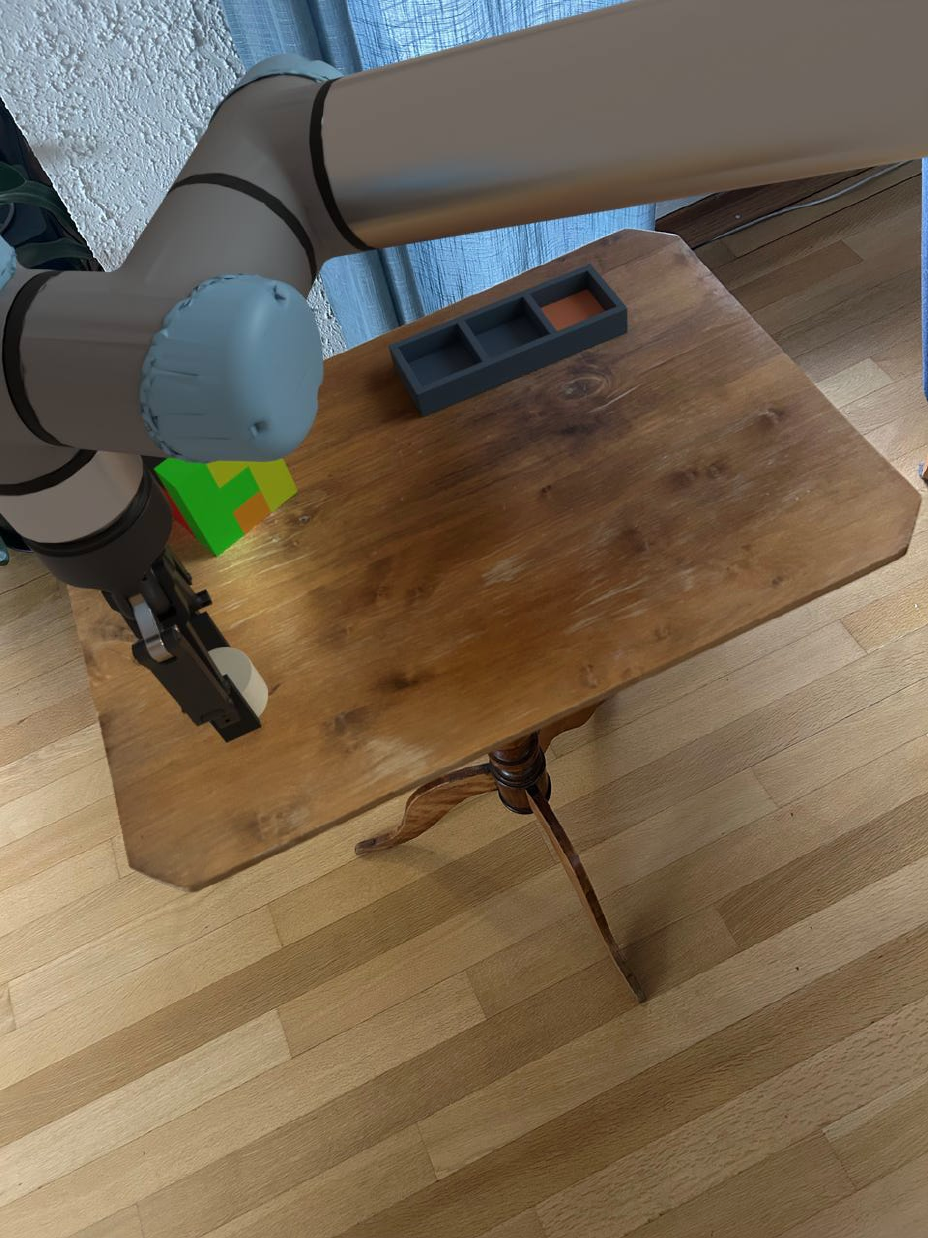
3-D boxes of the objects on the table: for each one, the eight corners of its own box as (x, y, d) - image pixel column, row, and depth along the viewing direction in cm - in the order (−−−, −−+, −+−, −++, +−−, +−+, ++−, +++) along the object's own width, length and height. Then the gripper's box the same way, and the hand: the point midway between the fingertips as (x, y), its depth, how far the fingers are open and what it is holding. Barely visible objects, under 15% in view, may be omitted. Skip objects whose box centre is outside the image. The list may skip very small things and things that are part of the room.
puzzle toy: (237, 443, 100) (200, 369, 92) (297, 491, 95) (265, 417, 87) (158, 504, 97) (113, 433, 89) (216, 556, 92) (175, 487, 84)
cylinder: (276, 713, 71) (260, 690, 68) (211, 742, 71) (192, 720, 68) (258, 660, 74) (241, 636, 71) (195, 688, 73) (176, 664, 70)
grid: (627, 332, 100) (627, 307, 98) (422, 417, 98) (416, 394, 95) (591, 287, 105) (590, 262, 102) (394, 367, 102) (388, 344, 100)
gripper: (-9, 415, 57) (157, 628, 77) (37, 650, 47) (214, 827, 67) (114, 365, 58) (248, 589, 77) (183, 587, 48) (317, 780, 67)
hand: (232, 699), depth 72 cm, fingers closed on cylinder, 5 cm apart
